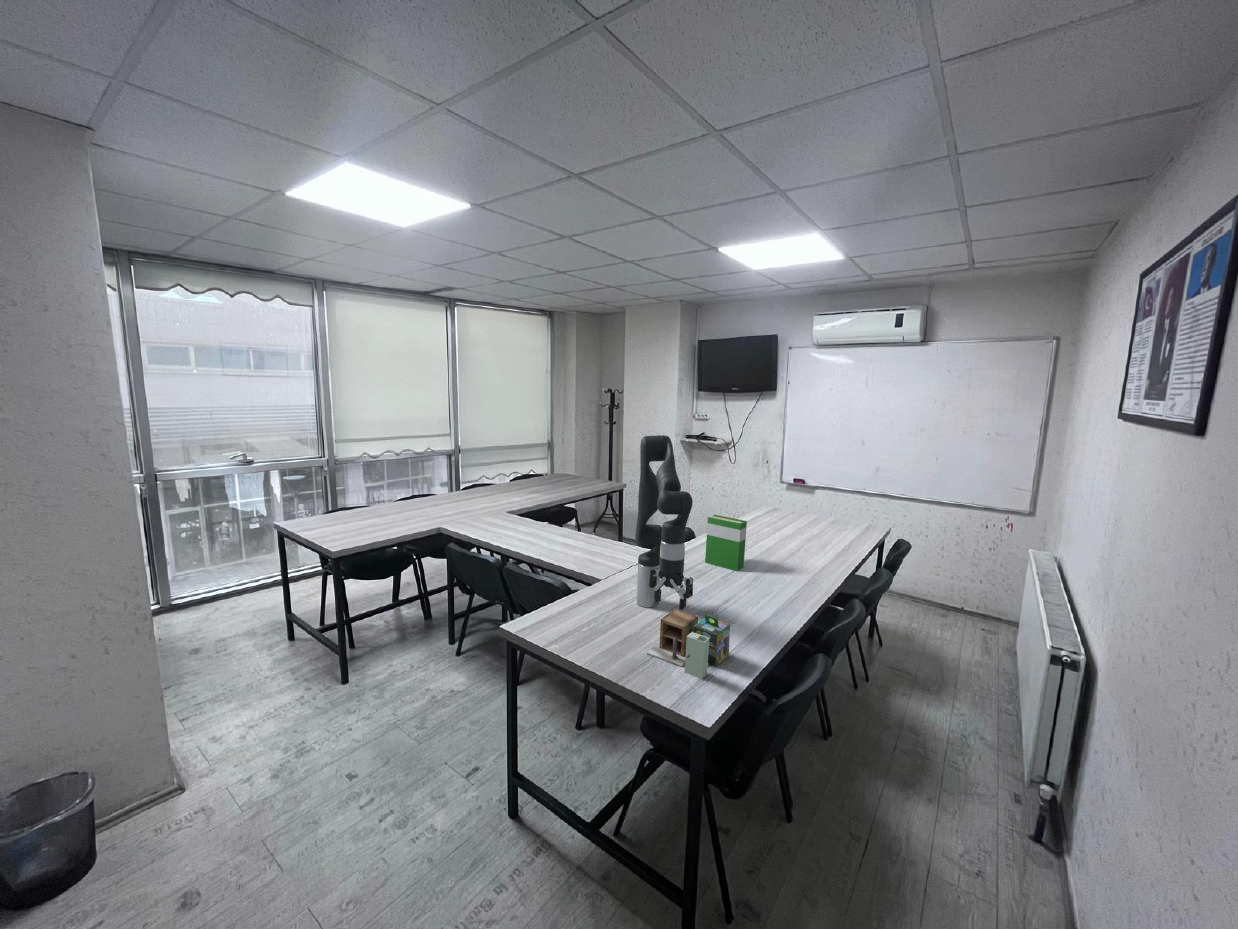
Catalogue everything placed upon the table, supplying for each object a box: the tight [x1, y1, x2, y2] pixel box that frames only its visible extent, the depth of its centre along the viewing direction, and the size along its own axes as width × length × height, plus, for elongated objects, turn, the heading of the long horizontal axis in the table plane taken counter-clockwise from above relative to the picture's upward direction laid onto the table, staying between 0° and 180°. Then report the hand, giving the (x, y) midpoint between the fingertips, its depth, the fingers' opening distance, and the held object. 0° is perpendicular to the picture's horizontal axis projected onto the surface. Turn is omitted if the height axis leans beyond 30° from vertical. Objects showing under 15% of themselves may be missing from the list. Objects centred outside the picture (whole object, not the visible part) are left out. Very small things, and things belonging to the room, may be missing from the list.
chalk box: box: [693, 613, 731, 667], centre depth 164 cm, size 9×9×15 cm
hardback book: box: [704, 514, 748, 572], centre depth 248 cm, size 18×7×24 cm, turn 52°
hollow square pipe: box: [684, 632, 709, 679], centre depth 154 cm, size 4×6×12 cm
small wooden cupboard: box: [646, 608, 699, 668], centre depth 167 cm, size 15×13×11 cm
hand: (669, 605), depth 154 cm, fingers open, 8 cm apart
